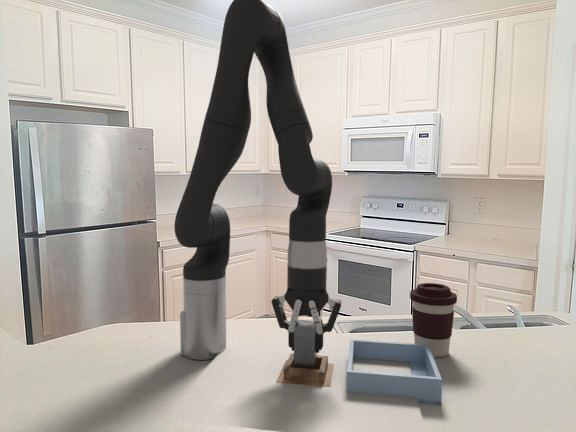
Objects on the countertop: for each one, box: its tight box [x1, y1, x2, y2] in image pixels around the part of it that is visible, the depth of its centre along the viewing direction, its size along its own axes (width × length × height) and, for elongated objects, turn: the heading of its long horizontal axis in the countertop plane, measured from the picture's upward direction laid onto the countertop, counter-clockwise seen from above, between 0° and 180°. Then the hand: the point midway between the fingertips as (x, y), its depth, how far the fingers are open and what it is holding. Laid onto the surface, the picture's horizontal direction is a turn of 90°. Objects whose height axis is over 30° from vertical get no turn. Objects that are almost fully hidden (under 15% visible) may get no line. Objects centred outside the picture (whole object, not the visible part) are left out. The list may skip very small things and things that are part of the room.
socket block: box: [275, 352, 335, 388], centre depth 81 cm, size 10×10×3 cm
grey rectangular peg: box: [293, 319, 318, 369], centre depth 81 cm, size 4×4×8 cm
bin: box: [346, 338, 443, 406], centre depth 80 cm, size 16×16×4 cm
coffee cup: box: [409, 282, 458, 358], centre depth 94 cm, size 10×10×15 cm
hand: (305, 349), depth 81 cm, fingers closed on grey rectangular peg, 4 cm apart
